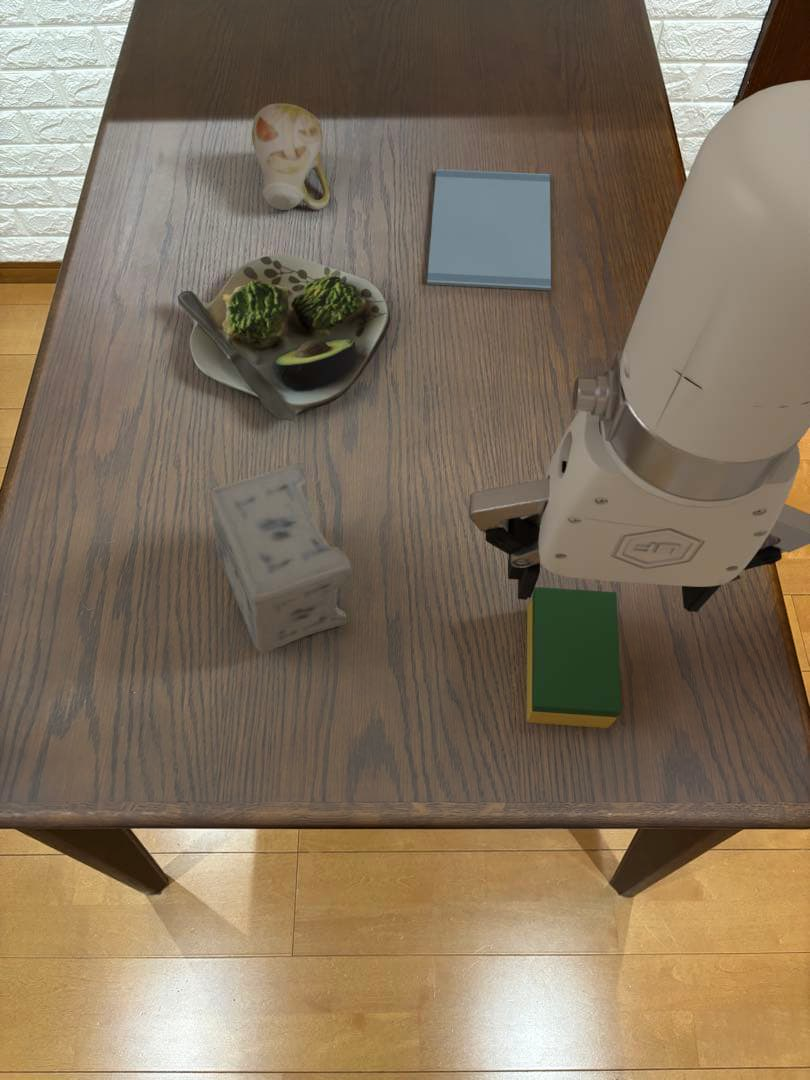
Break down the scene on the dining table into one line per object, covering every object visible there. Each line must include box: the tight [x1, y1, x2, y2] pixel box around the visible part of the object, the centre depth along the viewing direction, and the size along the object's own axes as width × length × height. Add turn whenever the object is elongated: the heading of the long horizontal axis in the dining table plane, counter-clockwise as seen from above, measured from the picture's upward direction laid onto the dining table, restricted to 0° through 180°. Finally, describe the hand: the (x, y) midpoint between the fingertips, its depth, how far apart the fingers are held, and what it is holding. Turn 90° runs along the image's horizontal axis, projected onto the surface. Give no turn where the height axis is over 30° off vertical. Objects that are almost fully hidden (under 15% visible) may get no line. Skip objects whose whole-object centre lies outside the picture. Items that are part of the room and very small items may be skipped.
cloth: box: [426, 168, 552, 292], centre depth 84 cm, size 12×16×1 cm
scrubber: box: [526, 586, 623, 729], centre depth 61 cm, size 9×6×4 cm, turn 176°
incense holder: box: [209, 462, 352, 654], centre depth 61 cm, size 10×8×10 cm
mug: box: [251, 102, 331, 211], centre depth 84 cm, size 8×10×10 cm
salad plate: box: [177, 253, 391, 422], centre depth 75 cm, size 19×18×5 cm
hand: (605, 582), depth 49 cm, fingers open, 9 cm apart
